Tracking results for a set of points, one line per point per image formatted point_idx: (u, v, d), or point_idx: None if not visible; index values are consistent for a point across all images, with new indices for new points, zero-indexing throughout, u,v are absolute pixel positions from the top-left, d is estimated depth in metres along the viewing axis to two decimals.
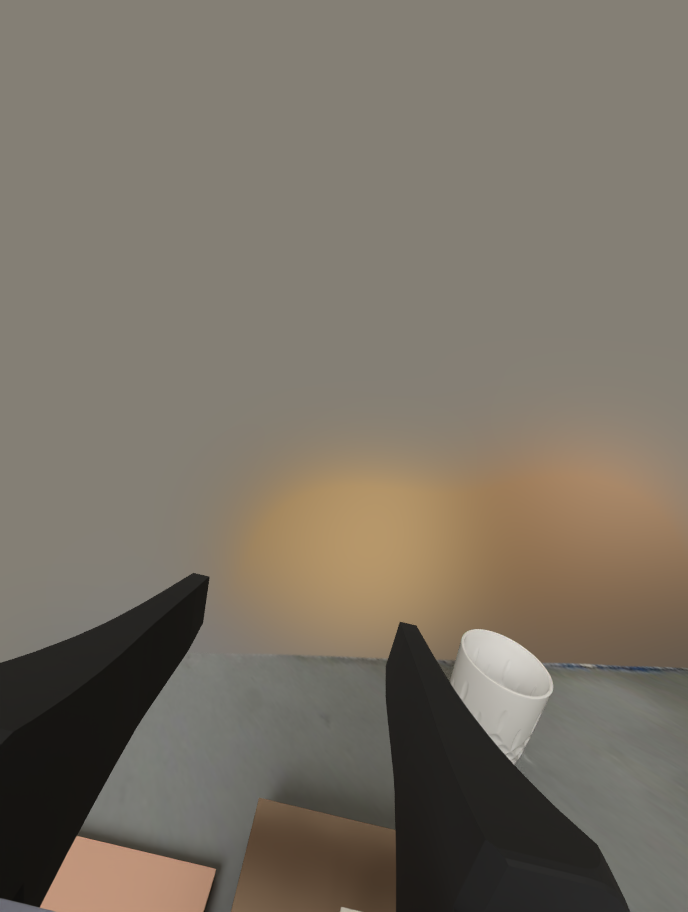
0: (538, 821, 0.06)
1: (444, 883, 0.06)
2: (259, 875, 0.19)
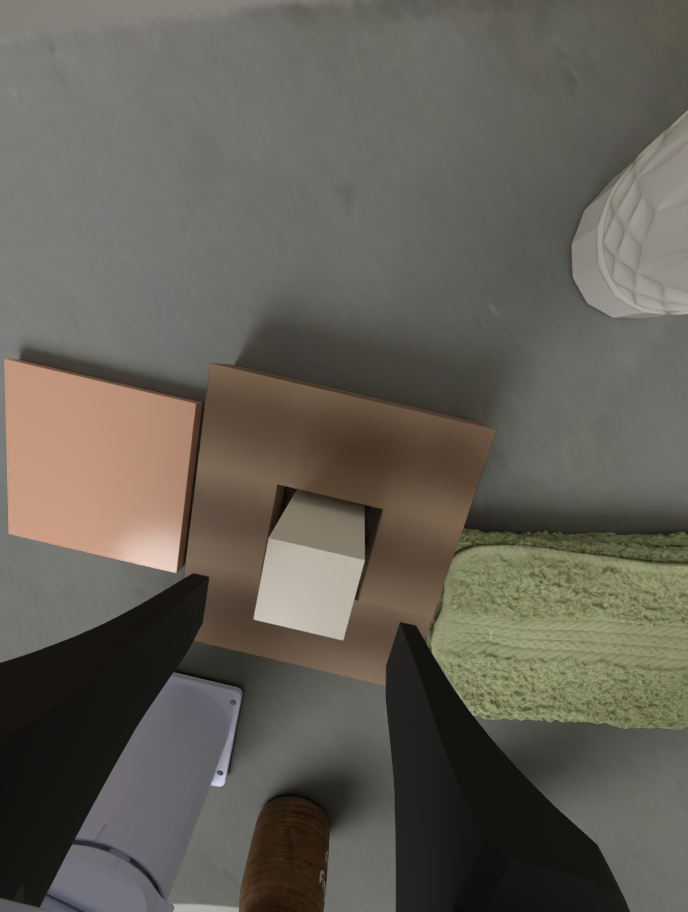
0: (539, 821, 0.06)
1: (444, 883, 0.06)
2: (222, 439, 0.17)
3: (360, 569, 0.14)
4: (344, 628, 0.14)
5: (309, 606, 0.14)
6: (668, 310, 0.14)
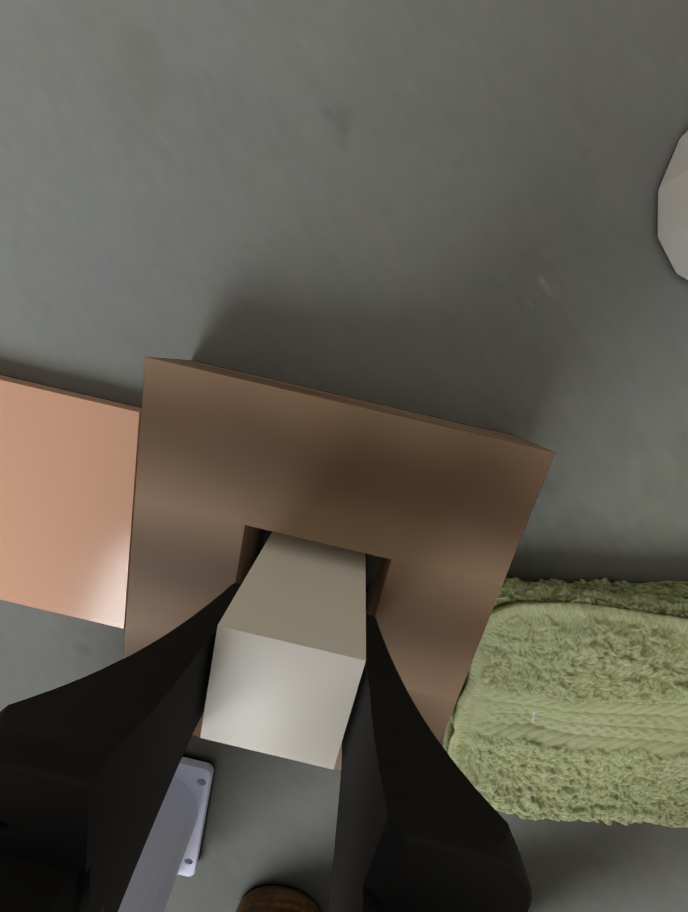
0: (453, 800, 0.06)
1: (360, 863, 0.06)
2: (167, 463, 0.12)
3: (359, 673, 0.09)
4: (335, 754, 0.10)
5: (282, 722, 0.09)
6: None
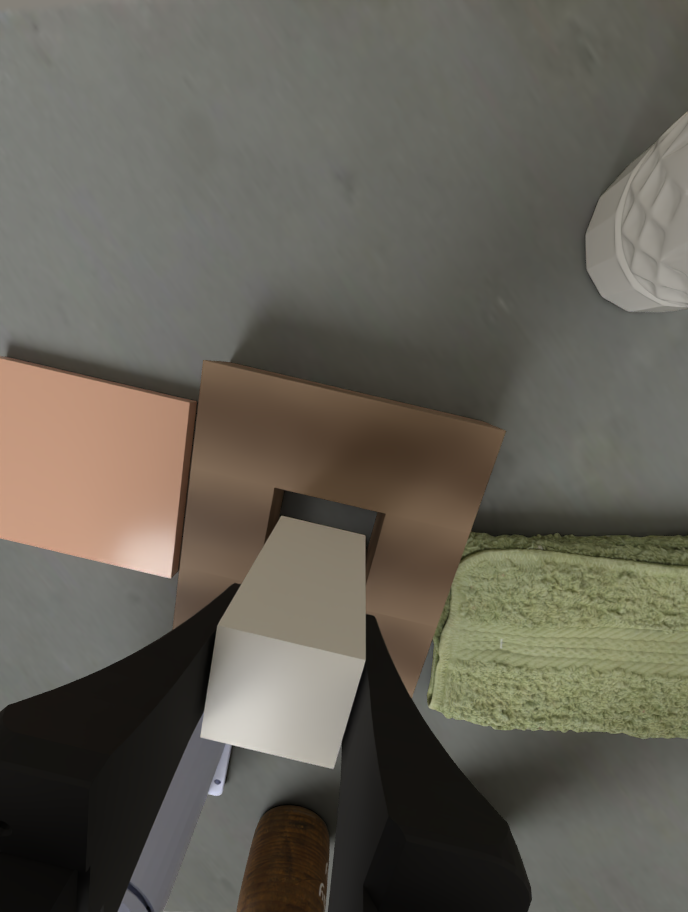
0: (453, 800, 0.06)
1: (360, 863, 0.06)
2: (216, 440, 0.16)
3: (358, 673, 0.09)
4: (335, 753, 0.10)
5: (282, 722, 0.10)
6: None
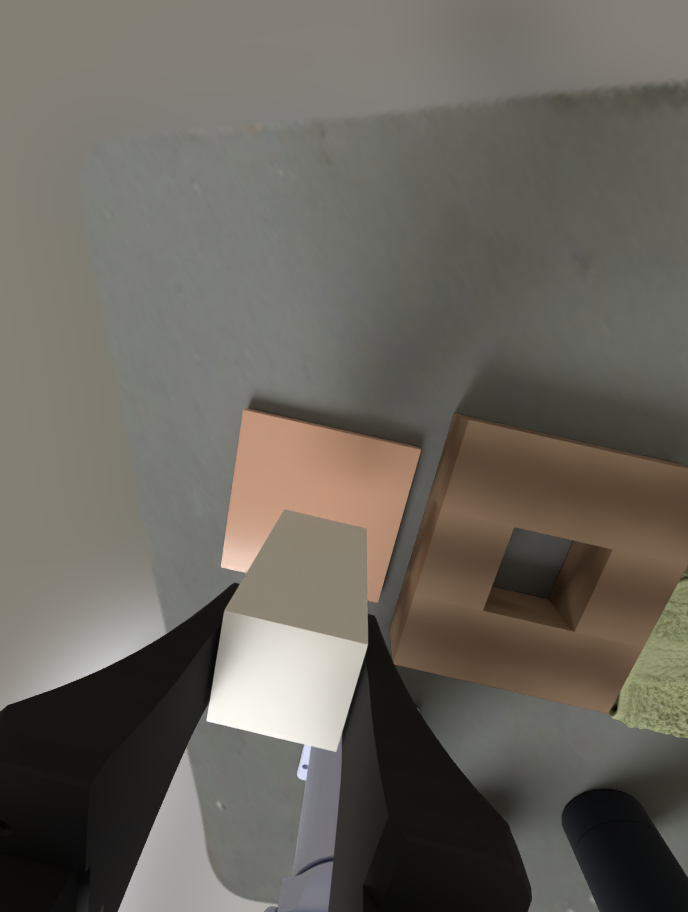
0: (453, 800, 0.06)
1: (360, 863, 0.06)
2: (468, 486, 0.18)
3: (361, 657, 0.09)
4: (338, 736, 0.10)
5: (286, 705, 0.10)
6: None
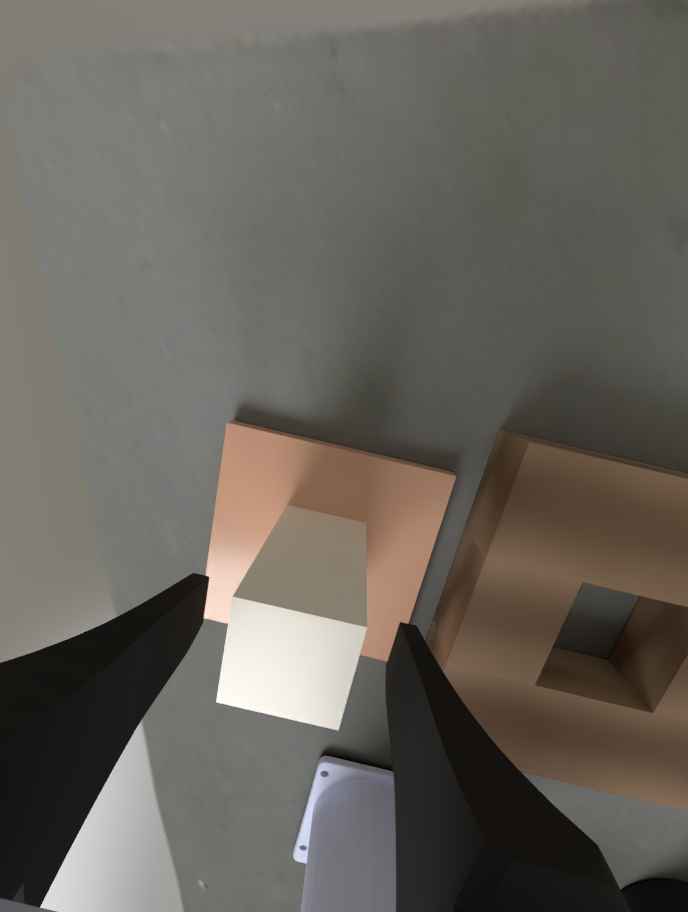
0: (539, 821, 0.06)
1: (444, 883, 0.06)
2: (524, 529, 0.14)
3: (361, 639, 0.10)
4: (340, 715, 0.11)
5: (291, 686, 0.10)
6: None
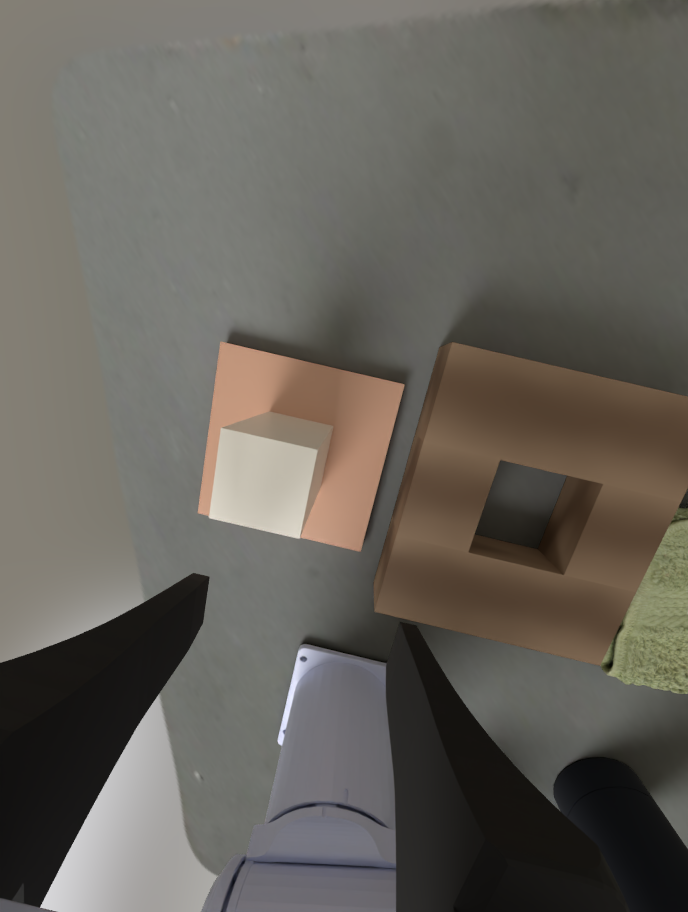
0: (538, 821, 0.06)
1: (444, 883, 0.06)
2: (452, 415, 0.18)
3: (313, 459, 0.14)
4: (300, 525, 0.14)
5: (264, 502, 0.14)
6: None
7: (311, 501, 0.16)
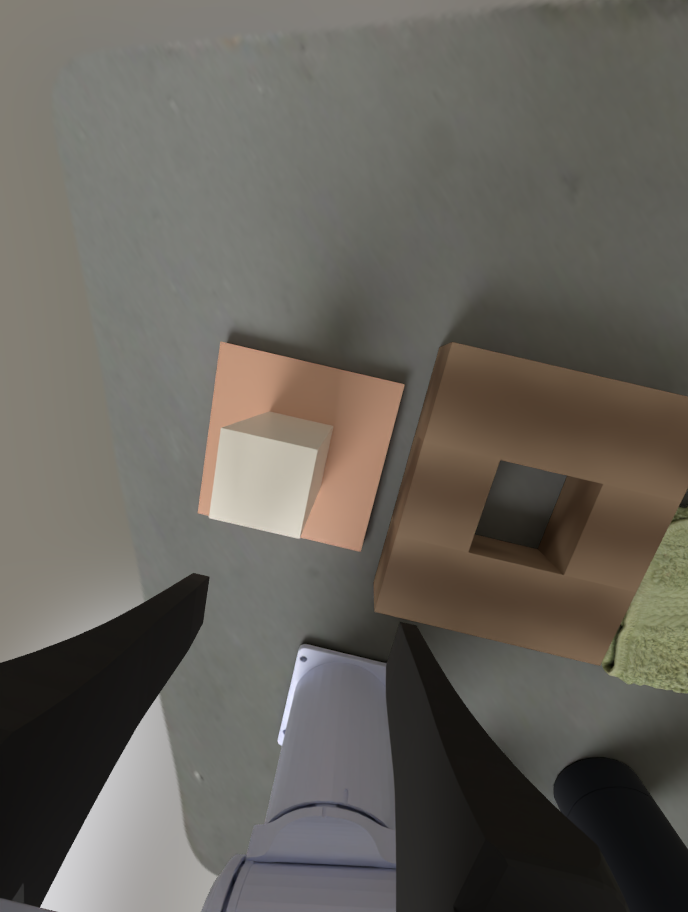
0: (538, 821, 0.06)
1: (444, 883, 0.06)
2: (452, 415, 0.18)
3: (313, 459, 0.14)
4: (300, 525, 0.14)
5: (264, 502, 0.14)
6: None
7: (311, 501, 0.16)
